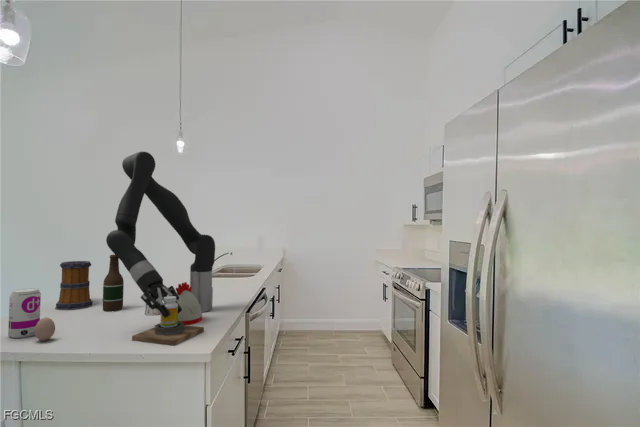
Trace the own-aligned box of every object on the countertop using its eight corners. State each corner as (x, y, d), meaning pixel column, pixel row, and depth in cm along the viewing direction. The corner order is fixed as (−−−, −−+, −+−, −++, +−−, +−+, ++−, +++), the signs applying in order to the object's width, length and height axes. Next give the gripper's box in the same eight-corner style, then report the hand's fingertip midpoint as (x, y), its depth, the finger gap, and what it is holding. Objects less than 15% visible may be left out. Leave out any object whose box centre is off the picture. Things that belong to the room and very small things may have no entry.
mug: (65, 302, 175) (66, 259, 175) (100, 300, 179) (101, 259, 180) (49, 311, 156) (50, 264, 157) (88, 309, 161) (89, 263, 161)
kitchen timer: (156, 323, 140) (157, 283, 141) (181, 315, 153) (182, 279, 154) (185, 327, 135) (186, 286, 136) (209, 318, 148) (209, 281, 149)
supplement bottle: (179, 326, 124) (180, 297, 124) (162, 329, 121) (162, 299, 121) (175, 323, 129) (176, 295, 129) (159, 325, 126) (160, 296, 126)
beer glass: (139, 314, 153) (140, 278, 153) (152, 311, 159) (153, 276, 159) (152, 316, 150) (153, 279, 150) (165, 312, 156) (166, 277, 157)
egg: (49, 342, 116) (50, 319, 116) (30, 343, 115) (31, 319, 115) (58, 337, 121) (58, 315, 122) (39, 338, 120) (40, 315, 120)
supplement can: (44, 333, 126) (46, 289, 126) (16, 340, 118) (18, 293, 119) (31, 330, 129) (32, 287, 129) (2, 336, 122) (4, 291, 122)
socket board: (165, 327, 135) (166, 317, 135) (203, 331, 130) (203, 321, 130) (131, 340, 119) (132, 329, 119) (173, 345, 115) (173, 334, 115)
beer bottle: (113, 312, 156) (115, 255, 157) (98, 311, 158) (99, 255, 158) (127, 308, 164) (128, 254, 164) (111, 307, 165) (113, 253, 166)
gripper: (136, 271, 121) (166, 311, 117) (166, 267, 134) (194, 302, 131) (123, 286, 122) (152, 326, 118) (154, 280, 136) (181, 316, 132)
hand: (173, 313), depth 124 cm, fingers closed on supplement bottle, 5 cm apart
